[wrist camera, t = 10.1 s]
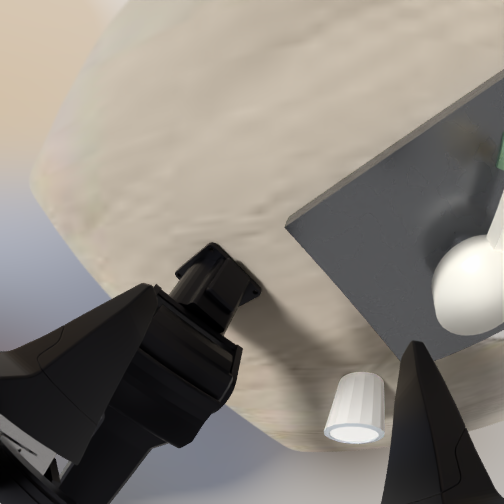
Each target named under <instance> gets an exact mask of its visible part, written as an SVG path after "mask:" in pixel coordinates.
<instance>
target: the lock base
mask: <svg viewBox="0 0 504 504" xmlns="http://www.w3.org/2000/svg"><path fill="white" fill-rule="evenodd" d="M503 191H504V70H502V71H501V72H499V73H498V74H496V75H495V76H493V77H492V78H490V79H489V80H487V81H486V82H484V83H483V84H481V85H480V86H478V87H477V88H475V89H474V90H472V91H471V92H469V93H468V94H466V95H465V96H464V97H462V98H461V99H459V100H458V101H456V102H455V103H453V104H452V105H450V106H449V107H447V108H446V109H444V110H443V111H441V112H440V113H439V114H437V115H436V116H434V117H433V118H431V119H430V120H428V121H427V122H425V123H424V124H422V125H421V126H419V127H418V128H417V129H415V130H414V131H412V132H411V133H409V134H408V135H406V136H405V137H403V138H402V139H401V140H399V141H398V142H396V143H395V144H393V145H392V146H390V147H389V148H387V149H386V150H385V151H383V152H382V153H380V154H379V155H377V156H376V157H374V158H373V159H372V160H370V161H369V162H367V163H366V164H364V165H363V166H361V167H360V168H359V169H357V170H356V171H354V172H353V173H351V174H350V175H348V176H347V177H346V178H344V179H343V180H341V181H340V182H338V183H337V184H336V185H334V186H333V187H331V188H330V189H328V190H327V191H325V192H324V193H323V194H321V195H320V196H318V197H317V198H315V199H314V200H313V201H311V202H310V203H308V204H307V205H305V206H304V207H303V208H301V209H300V210H298V211H297V212H295V213H294V214H293V215H291V216H290V217H289V218H288V220H287V222H286V225H285V229H286V230H287V231H288V232H289V233H290V234H291V235H292V236H293V237H294V238H295V239H296V241H297V242H298V243H299V244H300V245H301V246H302V247H303V248H304V249H305V250H306V252H307V253H308V254H309V255H310V256H311V257H312V258H313V259H314V260H315V262H316V263H317V264H318V265H319V266H320V267H321V268H322V269H323V271H324V272H325V273H326V274H327V275H328V276H329V277H330V279H331V280H332V281H333V282H334V283H335V284H336V285H337V287H338V288H339V289H340V290H341V291H342V292H343V293H344V295H345V296H346V297H347V298H348V299H349V300H350V302H351V303H352V304H353V305H354V306H355V307H356V309H357V310H358V311H359V312H360V313H361V314H362V316H363V317H364V318H365V319H366V320H367V322H368V323H369V324H370V325H371V326H372V328H373V329H374V330H375V331H376V332H377V334H378V335H379V336H380V337H381V338H382V340H383V341H384V342H385V343H386V344H387V346H388V347H389V348H390V349H391V350H392V352H393V353H394V354H395V355H396V357H397V358H398V359H399V360H400V362H401V358H402V355H403V353H404V352H405V350H406V348H407V347H408V345H409V343H410V342H411V341H412V340H415V341H422V342H423V343H424V344H425V346H426V347H427V349H428V351H429V353H430V355H431V357H432V358H433V360H434V361H436V360H438V359H441V358H443V357H446V356H448V355H451V354H453V353H455V352H458V351H460V350H462V349H465V348H467V347H469V346H471V345H473V344H476V343H478V342H480V341H482V340H484V339H486V338H488V337H490V336H492V335H494V334H496V333H498V332H500V331H502V330H504V322H503V323H502V324H500V325H499V326H497V327H496V328H494V329H492V330H490V331H487V332H484V333H481V334H477V335H467V336H465V335H457V334H454V333H451V332H449V331H447V330H446V329H445V328H443V327H442V326H441V324H440V323H439V321H438V319H437V317H436V312H435V306H434V301H433V296H432V290H431V284H432V278H433V274H434V271H435V269H436V267H437V265H438V264H439V262H440V261H441V259H442V258H443V257H444V256H445V254H446V253H447V252H448V251H449V250H450V249H452V248H453V247H454V246H455V245H457V244H459V243H460V242H462V241H464V240H466V239H468V238H471V237H474V236H478V235H487V233H488V231H489V229H490V226H491V224H492V221H493V219H494V216H495V213H496V211H497V208H498V205H499V202H500V200H501V197H502V194H503Z"/></svg>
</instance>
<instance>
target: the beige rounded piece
mask: <svg viewBox="0 0 504 504" xmlns="http://www.w3.org/2000/svg"><path fill="white" fill-rule="evenodd" d="M431 290H432V296H433V301H434V306H435V312H436V317H437V319H438V321H439V323H440V324H441V326H442V327H443V328H445V329H446V330H447V331H449V332H451V333H454V334H457V335H465V336H467V335H477V334H481V333H484V332H487V331H490V330H492V329H494V328H496V327H497V326H499V325H500V324H502V323H503V322H504V191H503V194H502V197H501V200H500V202H499V205H498V208H497V211H496V213H495V216H494V219H493V221H492V224H491V226H490V229H489V231H488V233H487V235H478V236H474V237H471V238H468V239H466V240H464V241H462V242H460V243H459V244H457V245H455V246H454V247H453V248H452V249H450V250H449V251H448V252H447V253H446V254H445V256H444V257H443V258H442V259H441V261H440V262H439V264H438V265H437V267H436V269H435V271H434V274H433V278H432V284H431Z"/></svg>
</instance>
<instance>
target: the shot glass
mask: <svg viewBox="0 0 504 504" xmlns="http://www.w3.org/2000/svg"><path fill="white" fill-rule="evenodd" d="M384 432H385V404H384V380H383V379H382V378H381V377H380V376H378V375H376V374H374V373H369V372H354V373H349V374H347V375H345V376H343V377H342V378H341V379H340V381H339V383H338V387H337V390H336V394H335V397H334V401H333V404H332V407H331V410H330V413H329V417H328V420H327V423H326V426H325V429H324V434H325V436H327V437H328V438H330V439H332V440H335V441H338V442H342V443H348V444H364V443H371V442H375V441H378V440H380V439H381V438H382V437H384Z"/></svg>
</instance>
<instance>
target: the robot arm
mask: <svg viewBox="0 0 504 504" xmlns="http://www.w3.org/2000/svg"><path fill="white" fill-rule="evenodd" d="M211 248H213V249H214V250H213V249H211ZM175 275H176V277H177V278H178V279H179V280H180V281H179V282H178V283H177V285H176V286H175V287H174V289H173V290H172V291H171V293H170V294H169V295H168V294H166V293H165V292H164V291H163V290H161V289H162V288H161V287H159V286H158V285H157V284H156V285H155V286H154V288H153V286H152V285H149V284H146V283H141V284H139V285H137V286H135V287H133V288H132V289H130V290H128V291H126V292H124V293H122V294H120V295H118V296H117V297H115V298H113V299H111V300H109V301H107V302H106V303H104V304H102V305H100V306H98V307H96V308H94V309H92V310H91V311H89V312H87V313H85V314H83V315H82V316H80V317H78V318H76V319H74V320H72V321H71V322H69V323H67V324H65V325H64V326H61V327H60V328H58V329H56V330H54V331H52V332H50V333H48V334H47V335H44V336H42V337H41V338H38V339H36V340H34V341H32V342H29V343H27V344H25V345H23V346H21V347H18V348H16V349H14V350H11V351H3V352H2V351H1V352H0V503H1V504H110V502H111V501H112V500H113V499H114V497H115V496H116V495H117V494H118V492H119V491H120V490H121V488H122V487H123V486H124V485H125V483H126V482H127V481H128V479H129V478H130V477H131V475H132V474H133V473H134V472H135V470H136V469H137V468H138V466H139V465H140V464H141V462H142V461H143V460H144V458H145V457H146V456H147V454H148V453H149V452H150V451H151V450H152V449H153V448H155V447H159V446H162V445H165V444H168V443H170V444H171V445H173V446H175V447H177V448H181V447H183V446H185V445H187V444H189V443H191V442H192V441H193V439H194V438H195V436H196V435H197V433H198V432H199V430H200V428H201V427H202V425H203V424H204V422H205V421H206V420H207V419H208V418H209V416H210V415H211V414H212V413H215V412H216V411H218V410H219V409H220V408H221V407H222V406H223V405H224V404H225V403H226V402H227V400H228V399H229V397H230V396H231V394H232V392H233V390H234V387H235V384H236V380H237V375H238V370H239V365H240V360H241V355H242V350H243V348H242V347H240V346H239V345H235V344H234V343H233V342H231V341H230V340H228V339H227V338H225V337H224V334H225V332H226V330H227V328H228V326H229V324H230V322H231V320H232V318H233V316H234V314H235V312H236V310H237V308H238V307H239V306H241V305H243V304H245V303H247V302H249V301H250V300H252V299H254V298H256V297H258V296H260V294H261V292H262V289H261V288H260V287H259V286H258V285H257V284H256V283H255V282H254V281H253V280H252V279H251V278H250V277H249V276H248V275H247V274H246V273H245V272H244V271H243V270H242V269H241V268H240V267H239V266H238V265H237V264H236V263H235V262H234V261H233V260H232V259H231V258H230V257H229V256H228V255H227V254H226V253H225V252H224V251H223V250H222V249H221V248H220V247H219V246H218V245H216V244H215V243H213V242H211V243H209V244H208V245H206V246H205V247H204V248H203V249H201V250H200V251H199V252H198V253H197V254H195V255H194V256H193V257H192V258H191V259H189V260H188V261H187V262H186V263H185V264H184V265H182V266H181V267H180V268H179V269H178V270H177V271H176V272H175ZM256 291H257V292H256ZM56 454H58V455H60V456H62V457H64V458H65V459H67V460H69V462H68V463H67V465H66V466H65V468H64V469H63V471H62V472H61V474H60V476H59V472H58V468H57V463H56V459H55V458H54V457H55V455H56ZM381 504H504V498H503V497H502V496H501V495H500V494H499V493H498V492H497V490H496V489H495V487H494V485H493V483H492V481H491V479H490V477H489V475H488V473H487V471H486V469H485V467H484V465H483V463H482V461H481V459H480V457H479V455H478V453H477V451H476V449H475V447H474V444H473V442H472V440H471V438H470V435H469V433H468V431H467V428H465V424H464V422H463V419H462V417H461V415H460V413H459V411H458V408H457V406H456V404H455V402H454V400H453V398H452V396H451V394H450V392H449V390H448V388H447V385H446V383H445V381H444V380H443V378H442V376H441V374H440V372H439V370H438V368H437V366H436V364H435V362H434V360H433V358H432V357H431V355H430V353H429V351H428V349H427V347H426V346H425V344H424V343H423V342H422V341H415V340H412V341H411V342H410V343H409V345H408V347H407V348H406V350H405V352H404V353H403V355H402V358H401V363H400V370H399V378H398V384H397V390H396V396H395V404H394V416H393V428H392V437H391V446H390V454H389V461H388V468H387V474H386V480H385V486H384V492H383V496H382V502H381Z"/></svg>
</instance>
